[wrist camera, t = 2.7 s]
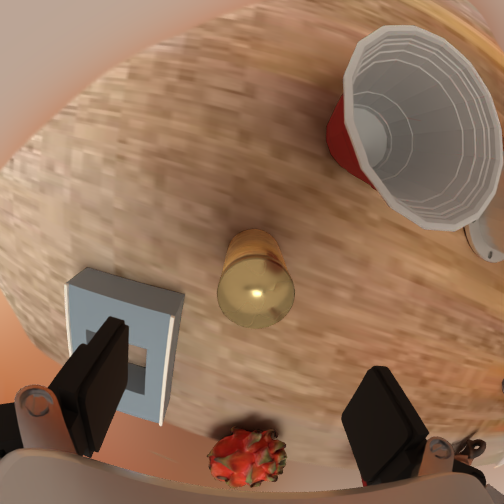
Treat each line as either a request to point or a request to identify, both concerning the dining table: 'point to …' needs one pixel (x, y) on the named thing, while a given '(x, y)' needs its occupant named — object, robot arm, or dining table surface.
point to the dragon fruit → (247, 458)
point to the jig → (140, 332)
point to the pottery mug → (471, 451)
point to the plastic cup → (418, 127)
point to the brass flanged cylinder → (255, 281)
